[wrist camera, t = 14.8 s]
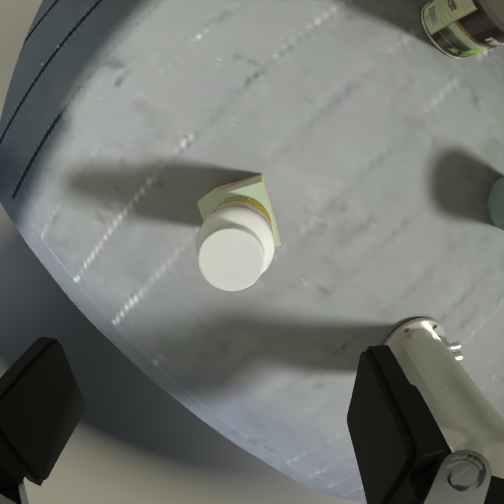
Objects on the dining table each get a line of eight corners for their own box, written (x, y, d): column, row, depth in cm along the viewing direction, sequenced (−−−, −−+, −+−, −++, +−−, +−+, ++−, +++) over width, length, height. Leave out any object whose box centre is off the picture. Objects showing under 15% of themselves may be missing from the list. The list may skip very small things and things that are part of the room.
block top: (261, 176, 32) (261, 181, 26) (277, 229, 34) (281, 245, 28) (207, 193, 33) (196, 202, 27) (225, 245, 34) (218, 263, 29)
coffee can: (482, 53, 30) (539, 36, 16) (443, 65, 32) (502, 44, 18) (451, -2, 27) (499, -32, 14) (407, 6, 29) (454, -33, 16)
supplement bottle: (242, 264, 29) (234, 317, 20) (198, 226, 28) (168, 263, 19) (283, 223, 27) (295, 259, 18) (238, 181, 26) (226, 196, 17)
